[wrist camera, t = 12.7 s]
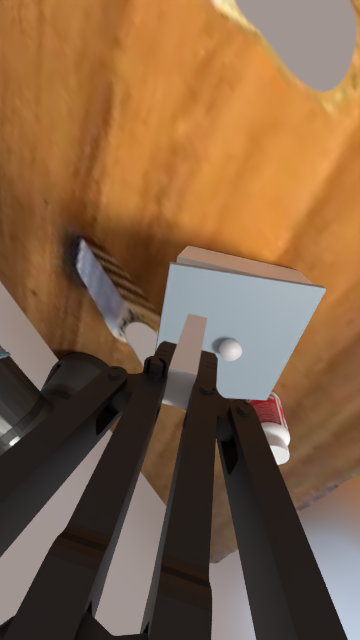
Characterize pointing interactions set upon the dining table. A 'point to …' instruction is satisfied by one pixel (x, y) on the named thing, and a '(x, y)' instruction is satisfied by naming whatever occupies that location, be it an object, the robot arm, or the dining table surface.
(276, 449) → the pill bottle
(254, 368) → the lid
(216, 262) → the box
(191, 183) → the dining table surface
